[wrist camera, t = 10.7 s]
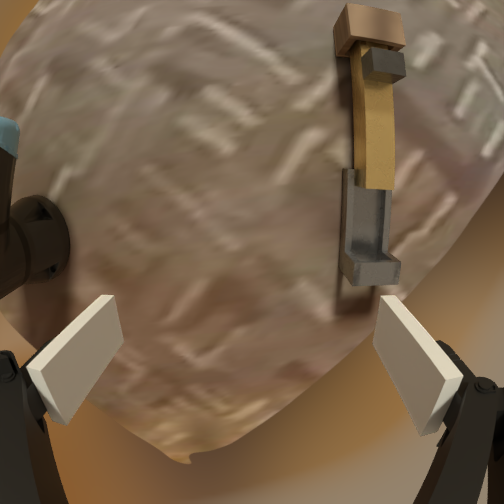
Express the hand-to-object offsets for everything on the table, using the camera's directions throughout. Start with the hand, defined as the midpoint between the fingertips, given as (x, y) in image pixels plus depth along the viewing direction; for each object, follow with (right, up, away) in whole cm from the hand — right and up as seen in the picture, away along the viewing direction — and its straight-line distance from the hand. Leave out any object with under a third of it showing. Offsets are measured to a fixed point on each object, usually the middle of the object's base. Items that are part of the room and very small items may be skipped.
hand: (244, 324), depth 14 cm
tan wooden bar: (+16, +23, +22) cm, 35 cm away
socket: (+16, +33, +20) cm, 42 cm away
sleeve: (+16, +8, +27) cm, 32 cm away
